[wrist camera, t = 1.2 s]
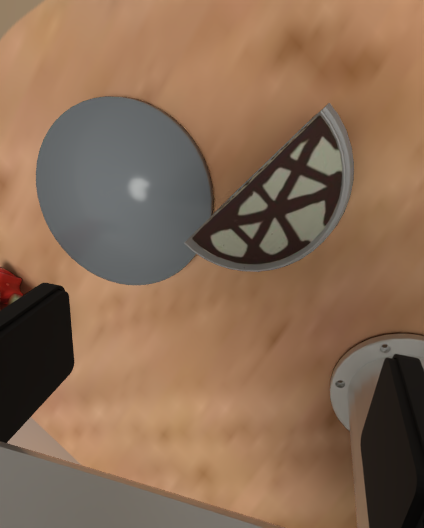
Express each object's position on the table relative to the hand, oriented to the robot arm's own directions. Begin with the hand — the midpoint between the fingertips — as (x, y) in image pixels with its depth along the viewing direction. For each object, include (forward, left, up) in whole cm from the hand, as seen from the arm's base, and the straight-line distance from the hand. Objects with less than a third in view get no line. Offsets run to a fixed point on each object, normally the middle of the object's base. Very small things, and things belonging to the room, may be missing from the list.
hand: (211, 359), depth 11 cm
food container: (-1, 0, -24) cm, 24 cm away
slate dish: (+14, +3, -24) cm, 28 cm away
